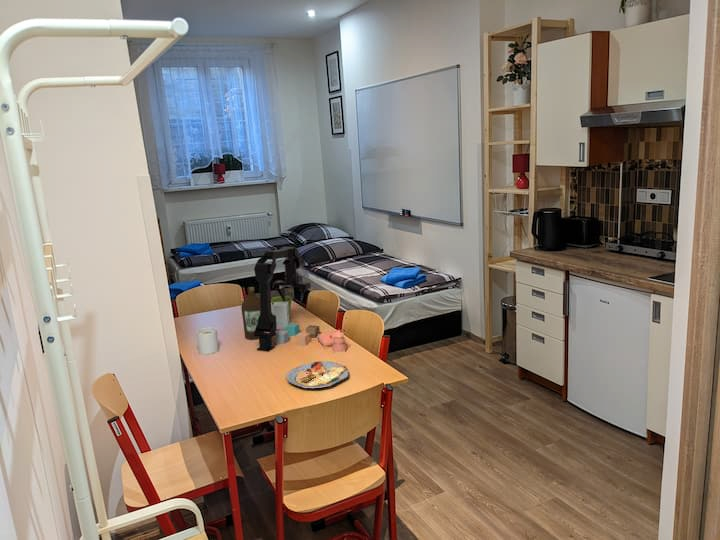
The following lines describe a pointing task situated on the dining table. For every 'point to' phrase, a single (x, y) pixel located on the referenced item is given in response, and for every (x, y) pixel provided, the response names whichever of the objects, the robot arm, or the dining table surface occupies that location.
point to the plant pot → (279, 299)
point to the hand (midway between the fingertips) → (292, 301)
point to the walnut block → (313, 331)
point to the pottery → (333, 340)
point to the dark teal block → (293, 329)
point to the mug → (207, 340)
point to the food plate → (318, 368)
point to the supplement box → (281, 314)
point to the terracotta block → (302, 339)
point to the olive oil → (251, 313)
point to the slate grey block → (281, 337)
